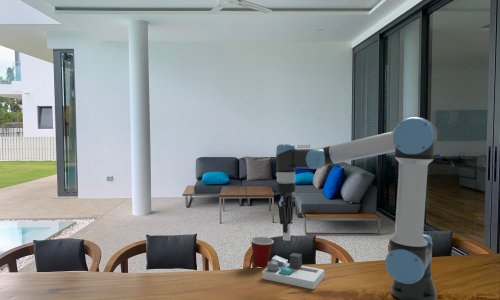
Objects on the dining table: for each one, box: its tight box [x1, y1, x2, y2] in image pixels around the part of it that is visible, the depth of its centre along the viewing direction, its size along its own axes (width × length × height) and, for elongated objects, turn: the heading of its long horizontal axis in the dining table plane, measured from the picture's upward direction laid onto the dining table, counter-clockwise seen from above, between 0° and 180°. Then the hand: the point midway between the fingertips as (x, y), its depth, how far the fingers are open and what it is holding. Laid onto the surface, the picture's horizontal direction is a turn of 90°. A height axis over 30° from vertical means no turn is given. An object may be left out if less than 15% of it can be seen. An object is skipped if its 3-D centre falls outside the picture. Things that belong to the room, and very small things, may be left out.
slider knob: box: [289, 252, 303, 269], centre depth 150 cm, size 4×4×5 cm
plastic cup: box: [249, 236, 274, 269], centre depth 162 cm, size 11×11×12 cm
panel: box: [261, 262, 326, 290], centre depth 147 cm, size 22×14×4 cm, turn 61°
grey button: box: [266, 260, 278, 272], centre depth 148 cm, size 4×4×3 cm
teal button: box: [281, 267, 291, 276], centre depth 145 cm, size 4×4×3 cm
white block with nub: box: [270, 255, 289, 266], centre depth 154 cm, size 6×4×1 cm, turn 61°
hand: (286, 239), depth 145 cm, fingers closed
